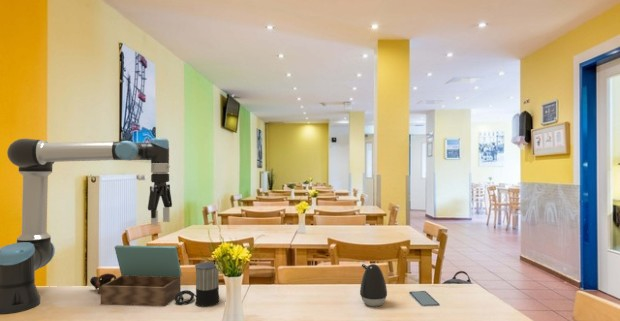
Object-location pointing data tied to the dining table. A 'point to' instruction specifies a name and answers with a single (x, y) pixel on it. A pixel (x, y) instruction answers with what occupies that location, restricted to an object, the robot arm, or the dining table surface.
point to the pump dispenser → (373, 286)
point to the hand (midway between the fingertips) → (160, 223)
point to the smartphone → (424, 298)
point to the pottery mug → (104, 279)
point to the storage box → (140, 290)
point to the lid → (148, 261)
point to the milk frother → (203, 286)
